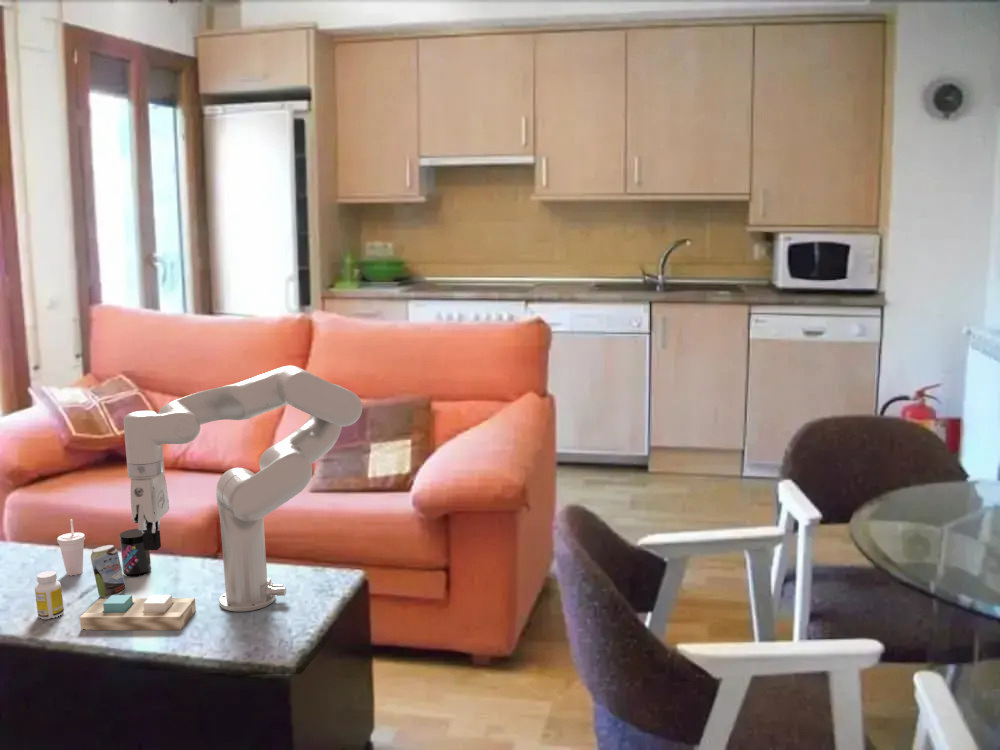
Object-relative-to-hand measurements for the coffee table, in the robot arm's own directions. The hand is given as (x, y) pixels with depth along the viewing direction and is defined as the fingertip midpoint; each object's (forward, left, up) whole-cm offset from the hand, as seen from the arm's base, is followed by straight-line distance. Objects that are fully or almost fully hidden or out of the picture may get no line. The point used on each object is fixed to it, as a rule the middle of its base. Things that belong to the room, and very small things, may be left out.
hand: (152, 548), depth 218 cm
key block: (+4, 0, -17) cm, 17 cm away
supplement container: (+16, -28, -17) cm, 36 cm away
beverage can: (+17, -14, -17) cm, 28 cm away
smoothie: (+32, -28, -17) cm, 46 cm away
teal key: (+9, 0, -15) cm, 17 cm away
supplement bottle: (+26, -3, -17) cm, 31 cm away
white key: (0, 0, -15) cm, 15 cm away
